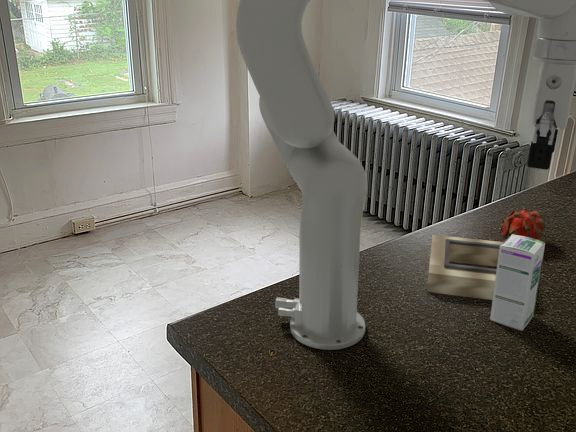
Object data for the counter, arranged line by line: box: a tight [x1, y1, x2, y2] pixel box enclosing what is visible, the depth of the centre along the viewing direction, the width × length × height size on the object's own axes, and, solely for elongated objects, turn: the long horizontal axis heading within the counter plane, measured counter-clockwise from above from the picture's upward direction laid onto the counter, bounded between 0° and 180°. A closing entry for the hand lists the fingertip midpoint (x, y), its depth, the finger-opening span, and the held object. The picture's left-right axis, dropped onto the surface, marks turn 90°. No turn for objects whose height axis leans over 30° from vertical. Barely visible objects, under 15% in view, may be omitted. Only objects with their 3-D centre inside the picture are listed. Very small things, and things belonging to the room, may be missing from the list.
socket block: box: [426, 234, 505, 301], centre depth 115 cm, size 17×17×5 cm
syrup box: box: [489, 234, 546, 331], centre depth 99 cm, size 6×6×14 cm
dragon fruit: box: [499, 207, 547, 241], centre depth 128 cm, size 8×8×12 cm
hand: (540, 159), depth 96 cm, fingers open, 9 cm apart
